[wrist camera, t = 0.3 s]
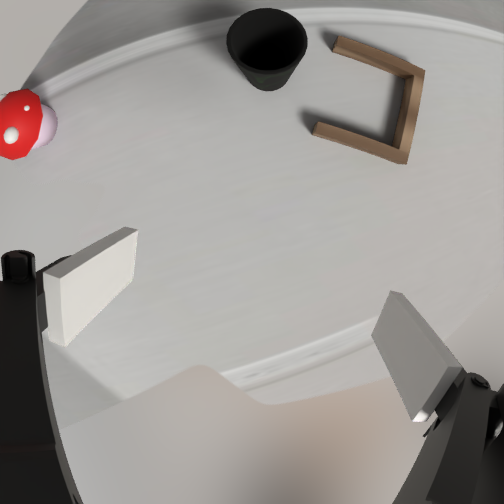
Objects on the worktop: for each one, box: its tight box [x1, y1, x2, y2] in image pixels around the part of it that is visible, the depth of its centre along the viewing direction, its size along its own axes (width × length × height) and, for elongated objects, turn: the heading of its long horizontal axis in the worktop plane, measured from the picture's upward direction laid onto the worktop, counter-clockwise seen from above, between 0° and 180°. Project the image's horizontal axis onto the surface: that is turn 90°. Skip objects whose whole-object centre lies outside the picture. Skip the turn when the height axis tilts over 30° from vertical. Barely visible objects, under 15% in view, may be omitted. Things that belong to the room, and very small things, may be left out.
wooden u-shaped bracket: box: [312, 36, 425, 165], centre depth 34 cm, size 14×12×3 cm
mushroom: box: [0, 89, 57, 160], centre depth 33 cm, size 11×11×12 cm
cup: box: [226, 8, 307, 91], centre depth 30 cm, size 8×8×12 cm
